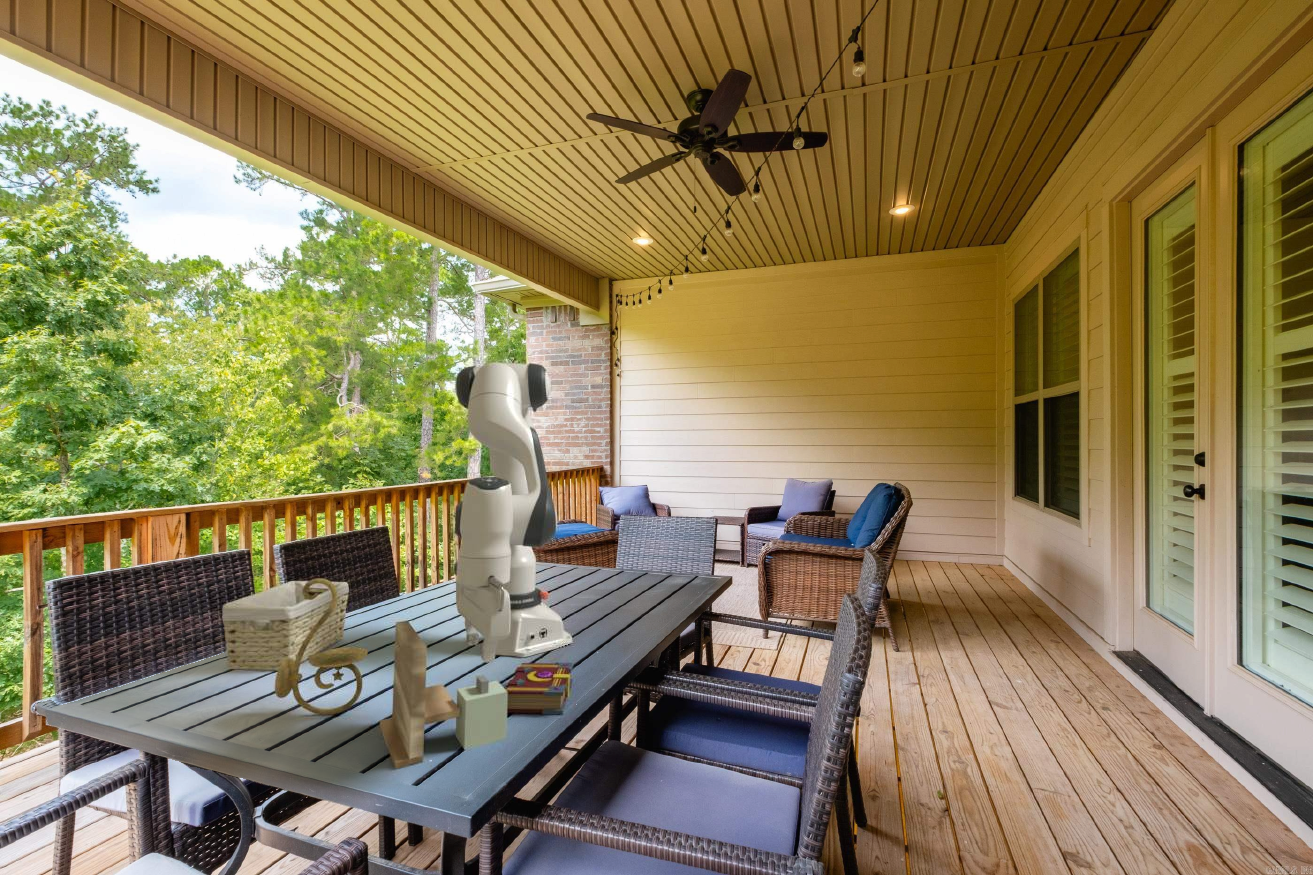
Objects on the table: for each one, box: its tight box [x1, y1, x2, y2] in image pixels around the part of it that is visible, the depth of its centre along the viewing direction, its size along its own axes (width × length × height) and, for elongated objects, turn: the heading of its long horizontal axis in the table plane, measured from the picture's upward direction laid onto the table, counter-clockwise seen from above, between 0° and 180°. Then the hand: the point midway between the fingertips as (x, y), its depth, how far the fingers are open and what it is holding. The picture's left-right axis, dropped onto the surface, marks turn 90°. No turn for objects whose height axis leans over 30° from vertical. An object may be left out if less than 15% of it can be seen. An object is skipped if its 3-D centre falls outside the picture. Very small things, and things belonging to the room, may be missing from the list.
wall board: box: [379, 620, 460, 770], centre depth 96 cm, size 10×16×18 cm, turn 34°
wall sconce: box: [274, 577, 368, 716], centre depth 103 cm, size 14×10×25 cm
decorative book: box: [505, 662, 574, 715], centre depth 113 cm, size 11×16×5 cm
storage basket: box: [221, 580, 350, 672], centre depth 133 cm, size 24×16×15 cm
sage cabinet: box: [455, 674, 508, 751], centre depth 97 cm, size 8×6×10 cm
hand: (479, 652), depth 96 cm, fingers open, 8 cm apart
